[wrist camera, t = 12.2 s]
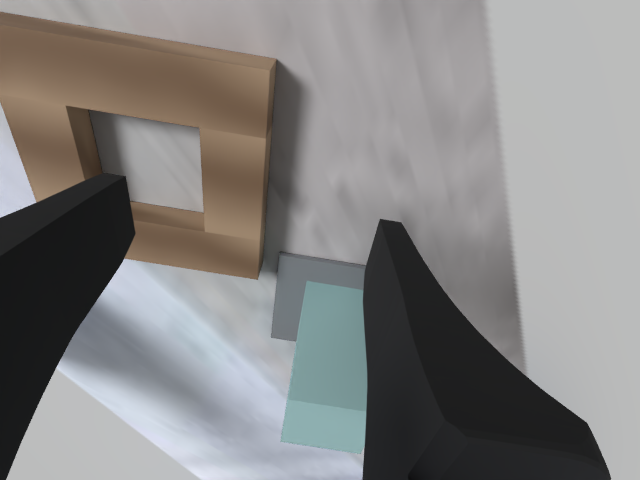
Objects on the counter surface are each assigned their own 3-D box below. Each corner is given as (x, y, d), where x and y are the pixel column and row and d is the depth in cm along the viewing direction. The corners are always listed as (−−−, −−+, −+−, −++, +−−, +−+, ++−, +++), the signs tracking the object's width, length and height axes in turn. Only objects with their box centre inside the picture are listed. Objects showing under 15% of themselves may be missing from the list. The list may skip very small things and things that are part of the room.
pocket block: (262, 261, 25) (257, 279, 24) (68, 230, 25) (52, 247, 24) (276, 58, 18) (269, 70, 17) (-2, 11, 18) (-30, 19, 16)
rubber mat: (380, 351, 30) (380, 354, 30) (271, 334, 30) (271, 337, 30) (410, 272, 25) (411, 276, 25) (280, 251, 25) (279, 255, 25)
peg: (361, 335, 29) (360, 454, 22) (299, 325, 29) (280, 441, 22) (376, 292, 26) (379, 413, 20) (306, 280, 26) (288, 399, 20)
